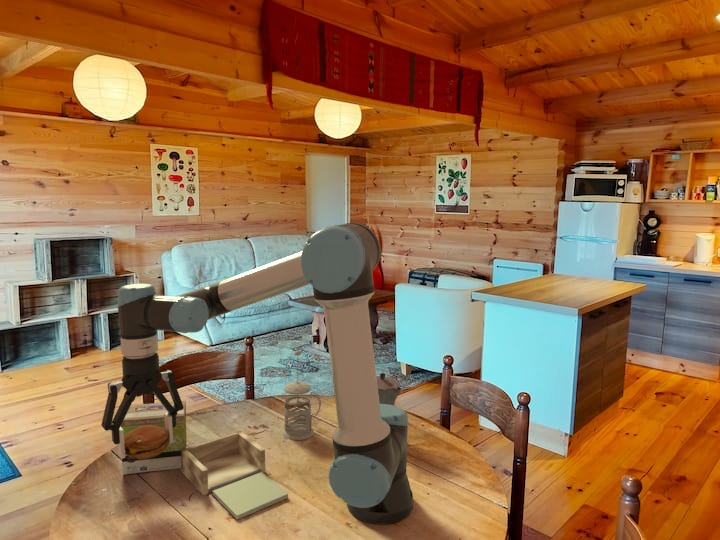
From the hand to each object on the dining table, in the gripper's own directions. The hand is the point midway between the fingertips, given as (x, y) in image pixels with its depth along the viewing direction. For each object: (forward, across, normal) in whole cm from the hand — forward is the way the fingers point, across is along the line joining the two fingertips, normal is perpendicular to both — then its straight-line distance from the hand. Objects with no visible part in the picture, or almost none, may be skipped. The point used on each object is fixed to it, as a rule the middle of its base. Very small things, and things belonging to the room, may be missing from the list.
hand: (146, 448), depth 117 cm
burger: (0, 0, 0) cm, 1 cm away
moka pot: (+13, +61, -12) cm, 63 cm away
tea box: (+12, +7, +14) cm, 20 cm away
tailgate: (+12, +18, -14) cm, 26 cm away
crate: (+12, +18, 0) cm, 22 cm away
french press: (+13, +46, +6) cm, 48 cm away
